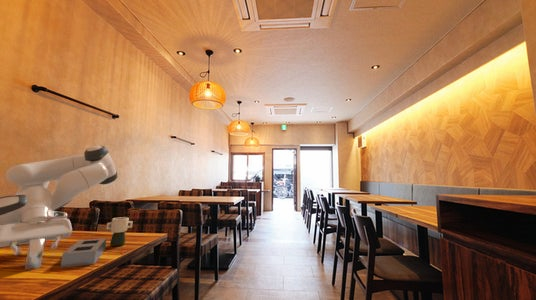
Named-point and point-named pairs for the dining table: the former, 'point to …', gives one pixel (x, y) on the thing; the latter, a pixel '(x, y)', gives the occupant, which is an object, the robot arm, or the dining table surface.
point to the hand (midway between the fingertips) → (36, 250)
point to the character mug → (119, 230)
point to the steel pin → (34, 253)
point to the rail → (83, 253)
